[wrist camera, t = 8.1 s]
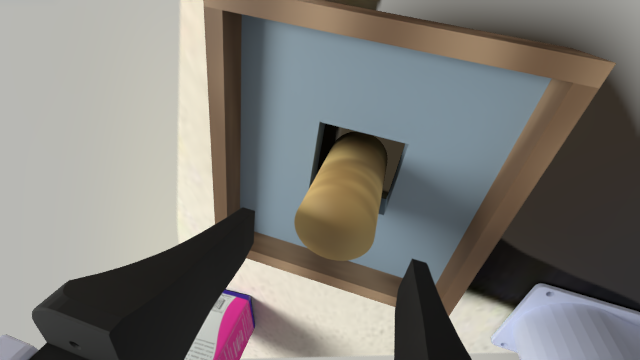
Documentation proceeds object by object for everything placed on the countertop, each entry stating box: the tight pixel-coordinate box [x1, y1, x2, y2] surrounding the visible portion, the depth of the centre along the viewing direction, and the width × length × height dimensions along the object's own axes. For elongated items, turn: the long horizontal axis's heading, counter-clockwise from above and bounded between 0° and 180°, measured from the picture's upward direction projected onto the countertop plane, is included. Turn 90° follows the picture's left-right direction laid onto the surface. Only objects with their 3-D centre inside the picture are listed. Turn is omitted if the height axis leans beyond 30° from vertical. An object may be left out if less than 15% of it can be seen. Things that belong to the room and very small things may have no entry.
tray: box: [203, 0, 616, 316], centre depth 20 cm, size 18×18×4 cm
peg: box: [294, 131, 387, 261], centre depth 18 cm, size 4×4×8 cm
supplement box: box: [184, 290, 255, 360], centre depth 31 cm, size 6×6×12 cm
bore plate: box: [240, 14, 552, 285], centre depth 21 cm, size 16×16×2 cm
